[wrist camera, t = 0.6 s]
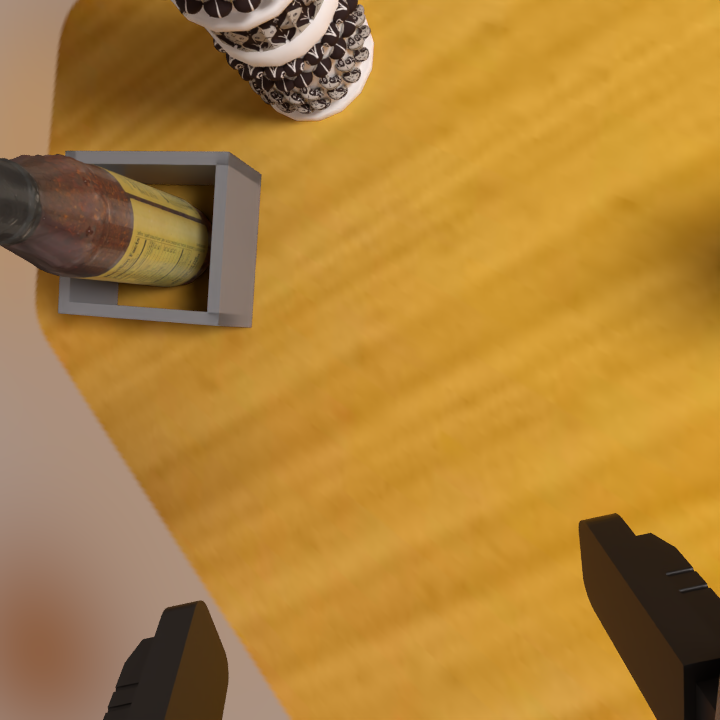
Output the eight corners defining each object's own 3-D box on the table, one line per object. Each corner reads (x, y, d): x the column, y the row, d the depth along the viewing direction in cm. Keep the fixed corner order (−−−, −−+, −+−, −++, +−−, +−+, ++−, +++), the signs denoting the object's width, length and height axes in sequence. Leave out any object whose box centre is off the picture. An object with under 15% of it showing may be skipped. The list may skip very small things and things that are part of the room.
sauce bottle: (130, 223, 42) (-174, 127, 23) (202, 187, 41) (-58, 54, 22) (160, 306, 42) (-123, 279, 23) (234, 273, 41) (-2, 214, 21)
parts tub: (114, 172, 43) (65, 151, 38) (261, 174, 40) (228, 151, 35) (107, 315, 43) (58, 313, 38) (251, 327, 41) (218, 325, 36)
